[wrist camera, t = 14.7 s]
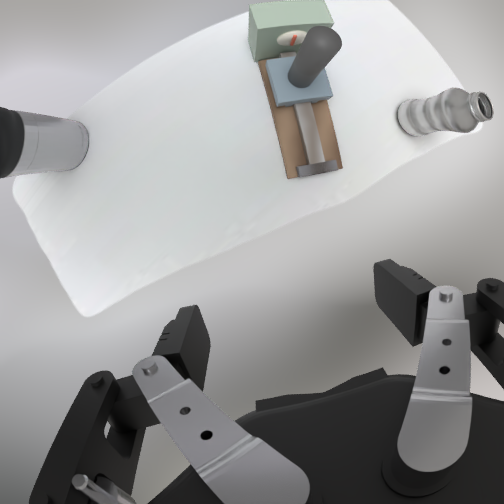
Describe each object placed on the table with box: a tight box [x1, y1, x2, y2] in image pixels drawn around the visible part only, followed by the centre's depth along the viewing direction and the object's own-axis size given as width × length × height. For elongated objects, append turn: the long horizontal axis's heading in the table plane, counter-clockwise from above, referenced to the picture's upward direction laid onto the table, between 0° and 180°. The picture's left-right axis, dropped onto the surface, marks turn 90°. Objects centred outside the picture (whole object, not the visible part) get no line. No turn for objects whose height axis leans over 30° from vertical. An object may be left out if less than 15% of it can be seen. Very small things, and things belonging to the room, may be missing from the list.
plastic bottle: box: [398, 88, 494, 136], centre depth 30 cm, size 6×7×20 cm
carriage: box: [265, 26, 342, 107], centre depth 28 cm, size 8×7×17 cm
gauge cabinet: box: [248, 0, 334, 62], centre depth 30 cm, size 10×5×12 cm, turn 103°
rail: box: [258, 51, 343, 179], centre depth 38 cm, size 9×20×3 cm, turn 13°
